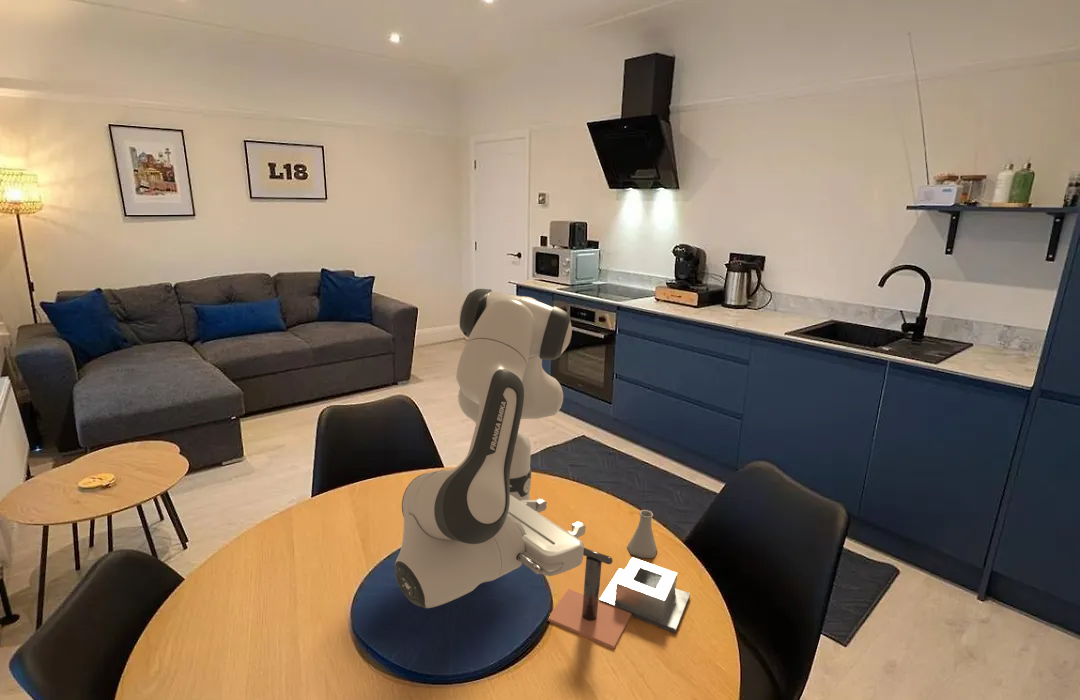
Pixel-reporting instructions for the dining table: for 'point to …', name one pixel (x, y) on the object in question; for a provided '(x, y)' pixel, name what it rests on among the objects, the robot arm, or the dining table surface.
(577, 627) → the key mat
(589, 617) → the chuck key
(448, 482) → the robot arm
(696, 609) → the dining table surface
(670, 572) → the block
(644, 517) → the flask
